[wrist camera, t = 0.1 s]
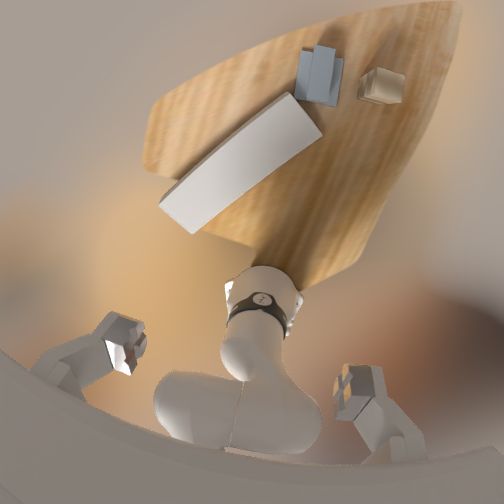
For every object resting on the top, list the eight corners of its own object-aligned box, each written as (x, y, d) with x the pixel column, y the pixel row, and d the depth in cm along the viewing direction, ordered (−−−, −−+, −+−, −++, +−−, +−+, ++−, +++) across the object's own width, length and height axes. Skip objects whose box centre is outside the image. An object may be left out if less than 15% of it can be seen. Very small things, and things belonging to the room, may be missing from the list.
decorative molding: (317, 129, 52) (286, 90, 47) (323, 135, 48) (290, 93, 43) (195, 222, 65) (163, 194, 60) (192, 234, 62) (157, 205, 57)
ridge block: (335, 107, 47) (340, 105, 40) (293, 98, 47) (292, 95, 41) (343, 59, 42) (349, 52, 36) (300, 51, 43) (301, 42, 36)
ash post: (379, 104, 45) (401, 102, 33) (356, 98, 45) (374, 93, 34) (382, 83, 43) (405, 76, 31) (360, 77, 43) (377, 66, 32)
